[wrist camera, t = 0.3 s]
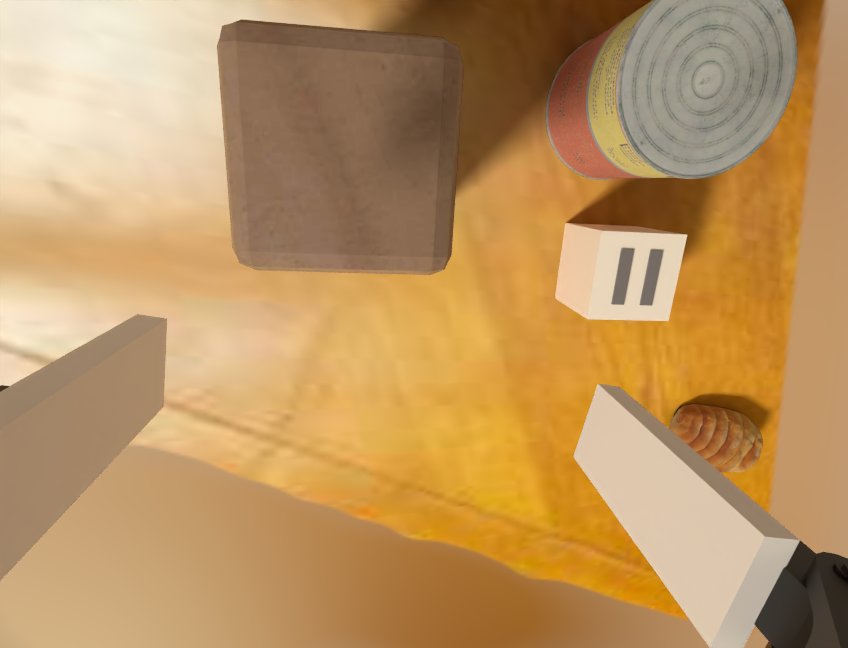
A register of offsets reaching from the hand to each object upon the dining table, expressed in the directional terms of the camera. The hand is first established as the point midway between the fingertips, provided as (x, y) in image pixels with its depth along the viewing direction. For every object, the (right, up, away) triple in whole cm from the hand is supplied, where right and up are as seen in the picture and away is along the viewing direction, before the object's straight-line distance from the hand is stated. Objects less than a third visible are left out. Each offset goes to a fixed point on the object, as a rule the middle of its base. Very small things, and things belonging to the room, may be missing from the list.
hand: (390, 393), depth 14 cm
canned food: (+17, +20, +25) cm, 36 cm away
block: (-4, +15, +24) cm, 29 cm away
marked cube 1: (+17, +8, +29) cm, 34 cm away
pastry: (+32, -10, +36) cm, 49 cm away
